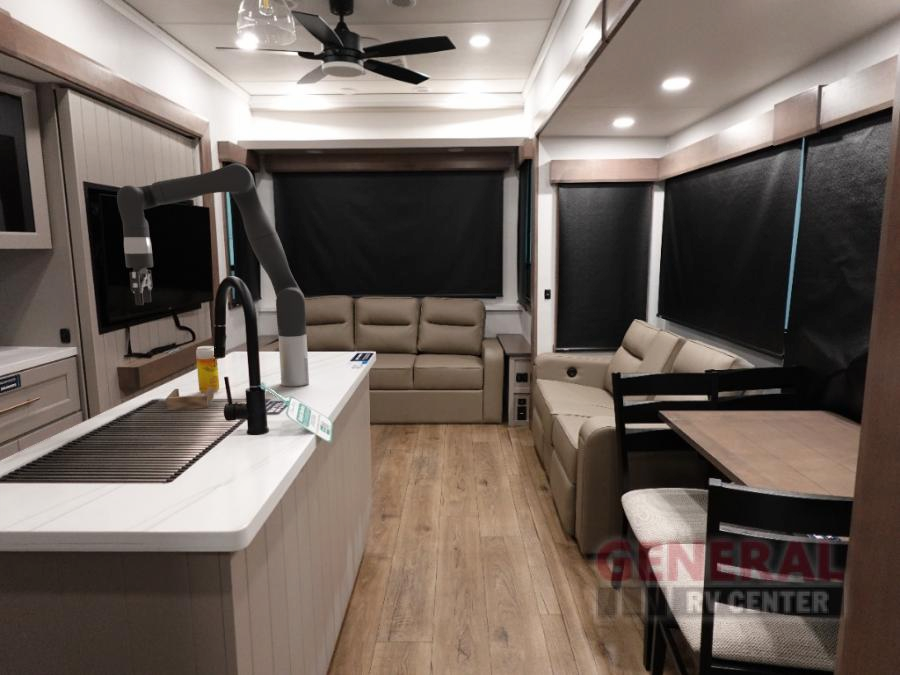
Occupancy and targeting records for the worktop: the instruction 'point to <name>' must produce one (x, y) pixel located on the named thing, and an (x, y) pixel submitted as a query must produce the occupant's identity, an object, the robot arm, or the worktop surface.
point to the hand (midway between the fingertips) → (143, 303)
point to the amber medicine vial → (207, 369)
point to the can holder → (189, 400)
